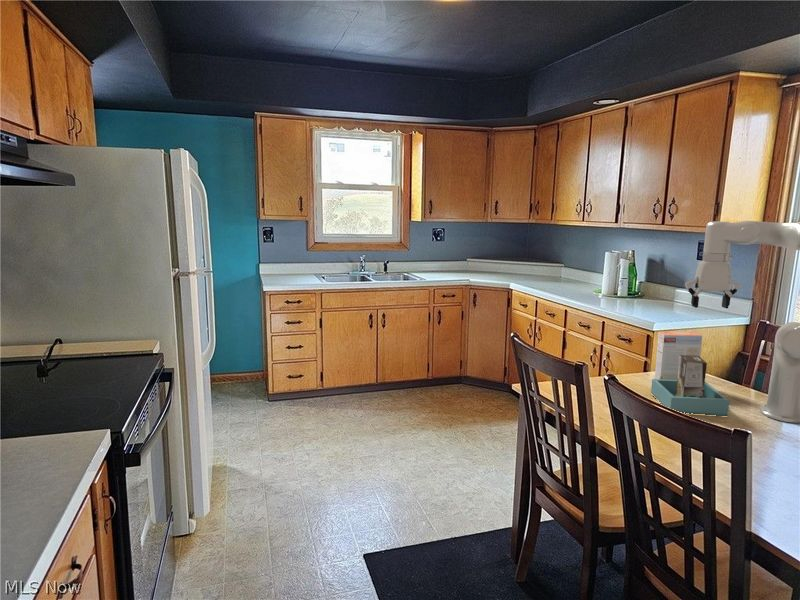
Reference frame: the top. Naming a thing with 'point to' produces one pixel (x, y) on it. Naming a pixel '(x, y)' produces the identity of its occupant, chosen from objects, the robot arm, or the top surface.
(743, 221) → the robot arm
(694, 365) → the coffee box
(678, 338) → the cracker box
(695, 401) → the tote
